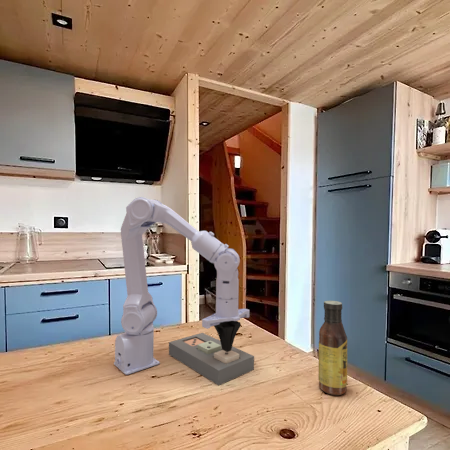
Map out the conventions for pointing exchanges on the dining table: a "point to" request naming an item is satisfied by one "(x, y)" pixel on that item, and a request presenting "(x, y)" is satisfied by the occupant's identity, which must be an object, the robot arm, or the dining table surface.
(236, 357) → the tile one
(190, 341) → the tile three
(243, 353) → the tile tray
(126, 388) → the dining table surface
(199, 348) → the tile two
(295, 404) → the dining table surface
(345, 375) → the sauce bottle
